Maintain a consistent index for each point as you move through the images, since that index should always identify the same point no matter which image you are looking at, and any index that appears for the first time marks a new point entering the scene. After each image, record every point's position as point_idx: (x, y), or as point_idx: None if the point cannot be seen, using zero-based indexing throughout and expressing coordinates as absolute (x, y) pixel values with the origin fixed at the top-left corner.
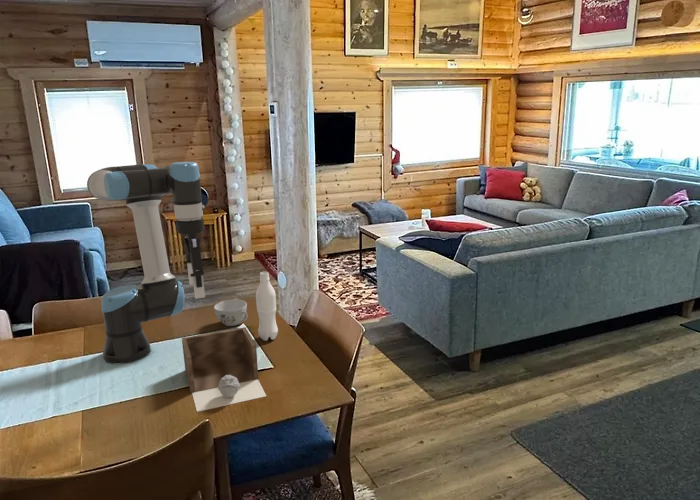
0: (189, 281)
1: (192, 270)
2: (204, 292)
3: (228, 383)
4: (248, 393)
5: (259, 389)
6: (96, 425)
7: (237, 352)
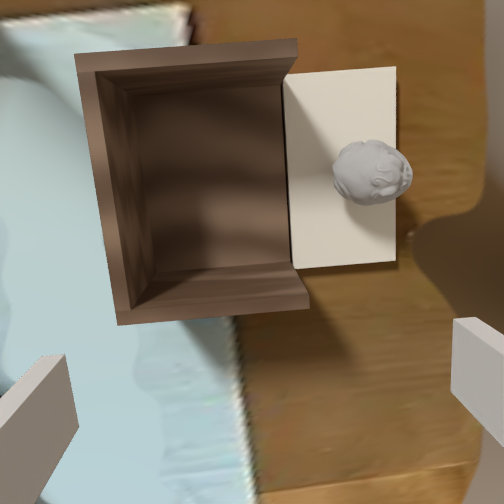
0: (67, 445)
1: (2, 497)
2: (501, 335)
3: (408, 176)
4: (359, 117)
5: (349, 80)
6: (333, 459)
7: (127, 116)
